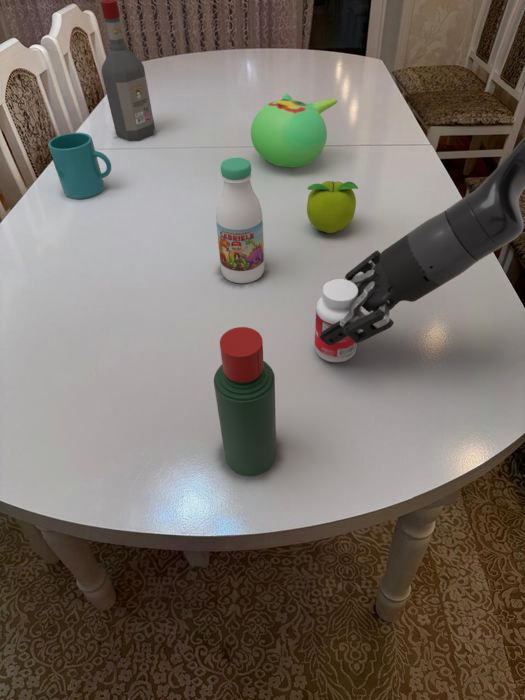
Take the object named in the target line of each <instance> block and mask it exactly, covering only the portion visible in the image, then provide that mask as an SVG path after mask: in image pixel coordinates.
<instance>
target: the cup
mask: <svg viewBox="0 0 525 700" xmlns="http://www.w3.org/2000/svg"><path fill="white" fill-rule="evenodd" d="M47 146H48V150H49V152H50V156H51V158H52V162H53V164H54V168H55V170H56V174H57V177H58V179H59V182H60V185H61V189H62V191H63V194H64V195H65V196H66V197H68V198H71V199H76V200H82V199H89V198H93V197H95V196H98V195H99V194H100V193H101V192H103V190H104V188H105V182H104V179H105V178H107V177H108V176H109V175H110V174H111V172H112V163H111V160H110V159H109V158H108V156H107V155H106V154H104V153H102V152H101V151H98V150H96V147H95V144H94V141H93V137H92V136H91V135H90V134H88V133H84V132H69V133H67V132H66V133H62V134H60V135H57V136H55V137H53V138H51V139H50V140H49V141H48V143H47ZM98 158H100V159H101V160H102V161H103V162H104V163H105V165H106V170H105V171H104V172H102V171H101V167H100V163H99V159H98Z"/></svg>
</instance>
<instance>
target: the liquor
mask: <svg viewBox="0 0 525 700" xmlns="http://www.w3.org/2000/svg"><path fill="white" fill-rule="evenodd" d="M100 6H101V11H102V15H103V18H104V21H105V27H106V31H107V36H108V40H109V51H108V54H107V55H106V58H105V59H104V62H103V64H102V66H101V75H102V80H103V85H104V88H105V93H106V97H107V102H108V105H109V110H110V115H111V118H112V122H113V127H114V131H115V134H116V135H117V137H119V138H120V139H123V140H126V141H128V142H137V141H138V142H139V141H141V140H144V139H147V138H149V137H151V136H154V133H155V129H156V125H155V120H154V116H153V110H152V105H151V99H150V93H149V88H148V82H147V77H146V71H145V66H144V64H143V63H142V60H141V59H139V58H138V57H137V56H136V55H135V54H134V53H133V52H132V51H131V50H130V49H129V48H128V46H127V44H126V41H125V38H124V34H123V28H122V23H121V18H120V17H121V14H120V9H119V5H118V0H102V1H100Z"/></svg>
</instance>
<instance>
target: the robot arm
mask: <svg viewBox="0 0 525 700" xmlns="http://www.w3.org/2000/svg"><path fill="white" fill-rule="evenodd" d="M523 191H525V136H524V138H522V139H521V140H520V141H519V143H518V144H516V146H514V148H513V150H512V151H511V152H510V153H509V154H508V155H507V156H506V158H505V159H503V161H502V162H501V163H500V164H499V165H498V166H497V167H496V168H495V169H494V170H493V171H492V173H490V174H489V176H488V177H487V178H486V179H485V180H483V182H482V183H481V184H480V185H479V186H478V187H477V188H476V189H474V190H473V191H471V192H470V193H468V194H467V195H465V196H464V197H462V198H461V199H459V200H458V201H457V202H455V203H454V204H452V205H450V206H449V207H448V208H447V209H446V210H444V211H442V212H440V213H438V214H436V215H435V216H433V217H431V218H429V219H427V220H426V221H424V222H423V223H421V224H419V225H418V226H417V227H415V228H414V229H413V230H411V231H409V232H408V233H407V234H405V235H404V236H403V237H401V238H399V239H398V240H397V241H395V242H394V243H393V244H391V245H390V246H388V247H387V248H385V249H384V250H382V252H380V251H379V250H375V251H374V252H372V253H371V254H370V255H368V256H367V257H366V258H364V259H363V260H362V261H361V262H359V263H358V264H357V265H356V266H355V267H353V268H352V269H351V270H349V271H348V272H347V273H346V274H345V276H344V279H345V280H348V281H351V282H353V283H354V284H355V285H356V286H357V288H358V298H357V300H356V301H355V302H354V303H353V304H352V305H351V306H350V312H349V313H348V314H347V315H346V316H345V317H344V318H343V319H342V320H341V322H340V321H338V322H337V323H335V324H334V325H332V326H330V327H329V328H327V329H326V330H324V331H323V332H321V333H320V339H321V340H322V341H323V342H325V343H326V344H327V345H334V344H335V343H336V342H339V341H340V340H342V339H344V338H345V337H347V336H349V337H350V338H351V339H352V340H353V341H354V342H355V343H357V344H359V343H362V342H363V341H366V340H368V339H370V338H372V337H374V336H376V335H379V334H380V333H382V332H385V331H387V330H388V329H391V328H392V327H393V325H394V322H395V321H394V320H393V319H392V318H391V317H390V311H391V310H393V309H394V308H395V307H396V305H398V304H399V303H400V302H402V301H403V302H404V301H405V302H410V303H411V302H412V303H413V302H414V303H415V302H416V301H418V300H419V299H420V300H421V298H423V297H425V296H426V295H428V294H430V293H431V292H433V291H435V290H437V289H438V288H440V287H441V286H442V287H443V285H445V284H446V283H448V282H450V281H451V280H454V279H455V278H456V277H459V276H460V275H461V274H463V273H464V272H466V271H467V270H468V269H470V268H471V267H472V266H473V265H474V264H477V263H478V262H479V261H481V260H482V259H484V258H485V257H488V256H489V255H491V254H493V253H494V252H496V251H498V250H499V249H501V248H503V247H504V246H506V245H508V244H509V243H511V242H513V241H514V240H516V239H517V238H518V237H519V236H520V235H521V234H522V233H523V231H524V228H525V227H524V226H525V225H524V219H523V215H522V213H521V212H522V211H521V209H520V197H521V194H522V193H523ZM359 273H361V274H359ZM360 307H361V308H363V310H365V311H366V312H368V314H365V313H364V312H363V311H362V310H361V311H360ZM356 316H358V317H359V318H360V319H359V320H357V321H355V322H353V323H351V321H352V320H353V319H354V318H355V317H356Z"/></svg>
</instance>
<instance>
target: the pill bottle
mask: <svg viewBox="0 0 525 700" xmlns="http://www.w3.org/2000/svg"><path fill="white" fill-rule="evenodd" d="M357 298H358V288H357V286H356V285H355V284H354V283H353V282H351V281H348V280H347V279H346V278H336V279H331V280H329V281H327V282H326V283H325V284H323V287H322V293H321V297H320V298H319V299H318V301H317V303H316V308H315V324H314V325H315V326H314V350H315V353H316V354H317V355H318V356H319V357H320V358H321V359H323V360H325V361H327V362H330V363H343V362H346V361H349V360H350V359H351V358H352V357H353V356H355V353H356V352H357V347H358V343H355V342H354V341H353V340H352V339H351V338H350V337H349V336H347V337H345V338H344V339H342V340H340V341H339V342H336V343H335V344H334V345H327V344H326V343H325V342H323V341H322V340H321V339H320V333H321V332H323V331H324V330H326V329H327V328H329V327H330V326H332V325H334V324H335V323H337V322H338V321H340V322H341V320H342V319H343V318H344V317H345V316H346V315H347V314H348V313H349V312H350V306H351V305H352V304H353V303H354V302H355V301H356V300H357ZM360 311H361V312H362V306H361V307H360ZM359 319H360V318H359V317H358V316H356V317H355V318H354V319H353V320H352V321H351V323H353V322H355V321H357V320H359Z"/></svg>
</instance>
